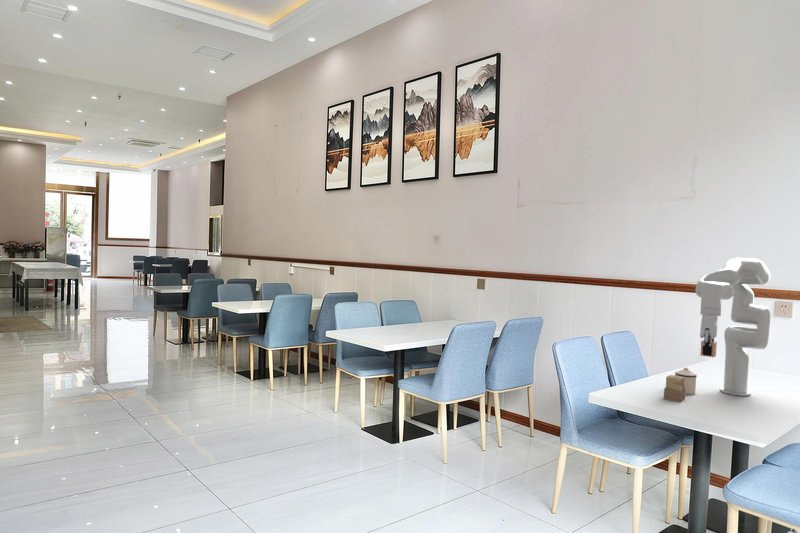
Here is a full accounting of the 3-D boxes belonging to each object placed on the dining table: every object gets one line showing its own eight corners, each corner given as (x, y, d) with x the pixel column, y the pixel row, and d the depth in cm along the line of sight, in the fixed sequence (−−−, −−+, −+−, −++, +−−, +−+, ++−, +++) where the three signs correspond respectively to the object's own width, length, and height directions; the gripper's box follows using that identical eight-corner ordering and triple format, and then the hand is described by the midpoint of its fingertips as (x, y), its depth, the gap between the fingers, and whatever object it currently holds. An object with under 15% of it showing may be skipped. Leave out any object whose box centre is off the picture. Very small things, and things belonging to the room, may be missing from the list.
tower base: (667, 396, 249) (668, 385, 249) (684, 399, 245) (685, 388, 245) (663, 399, 244) (664, 388, 244) (681, 402, 239) (681, 391, 239)
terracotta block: (702, 354, 237) (703, 340, 237) (715, 355, 234) (716, 341, 234) (700, 355, 233) (701, 341, 233) (713, 357, 230) (714, 343, 230)
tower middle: (669, 386, 248) (670, 374, 248) (684, 388, 244) (685, 377, 244) (665, 388, 244) (666, 376, 244) (680, 390, 240) (681, 379, 240)
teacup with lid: (697, 392, 259) (698, 367, 259) (693, 396, 252) (695, 370, 251) (669, 388, 266) (670, 363, 266) (665, 391, 259) (666, 366, 259)
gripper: (704, 309, 242) (702, 350, 243) (696, 312, 229) (694, 355, 229) (724, 311, 237) (721, 353, 238) (717, 313, 224) (714, 358, 225)
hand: (708, 354), depth 234 cm, fingers closed on terracotta block, 5 cm apart
